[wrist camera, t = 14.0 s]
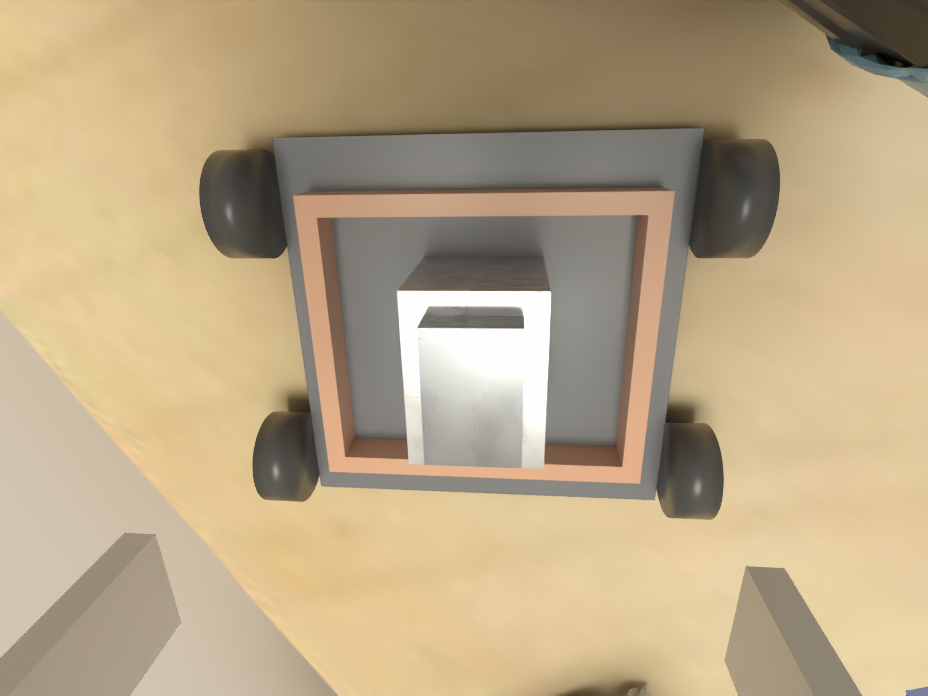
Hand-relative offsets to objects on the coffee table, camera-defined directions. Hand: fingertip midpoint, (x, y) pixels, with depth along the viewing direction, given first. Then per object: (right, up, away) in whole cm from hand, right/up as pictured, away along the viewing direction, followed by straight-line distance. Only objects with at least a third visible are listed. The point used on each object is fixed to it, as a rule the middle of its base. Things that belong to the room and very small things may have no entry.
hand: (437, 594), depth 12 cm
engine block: (+2, +6, +16) cm, 17 cm away
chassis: (+2, +7, +17) cm, 19 cm away
